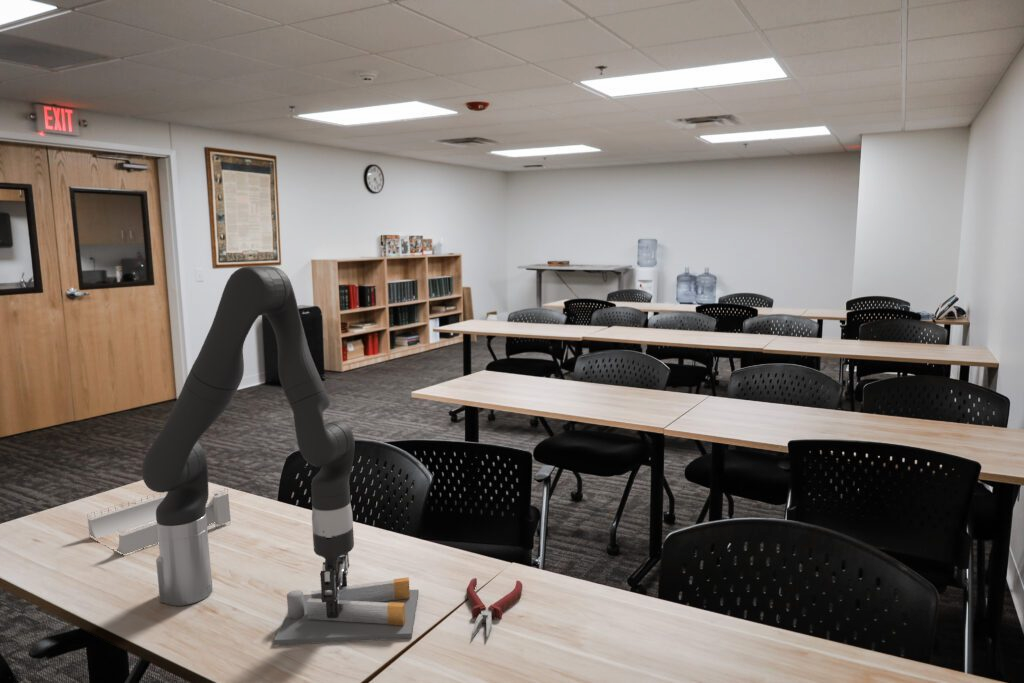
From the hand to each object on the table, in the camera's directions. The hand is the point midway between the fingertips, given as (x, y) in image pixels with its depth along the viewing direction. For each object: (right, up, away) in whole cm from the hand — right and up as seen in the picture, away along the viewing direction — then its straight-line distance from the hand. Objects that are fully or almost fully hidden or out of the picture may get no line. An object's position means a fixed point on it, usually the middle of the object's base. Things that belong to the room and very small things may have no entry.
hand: (337, 605), depth 131 cm
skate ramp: (-57, +2, +43) cm, 72 cm away
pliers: (+28, -2, +3) cm, 29 cm away
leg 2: (+4, -2, -3) cm, 5 cm away
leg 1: (+4, -1, +4) cm, 5 cm away
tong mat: (+3, -3, +1) cm, 4 cm away
